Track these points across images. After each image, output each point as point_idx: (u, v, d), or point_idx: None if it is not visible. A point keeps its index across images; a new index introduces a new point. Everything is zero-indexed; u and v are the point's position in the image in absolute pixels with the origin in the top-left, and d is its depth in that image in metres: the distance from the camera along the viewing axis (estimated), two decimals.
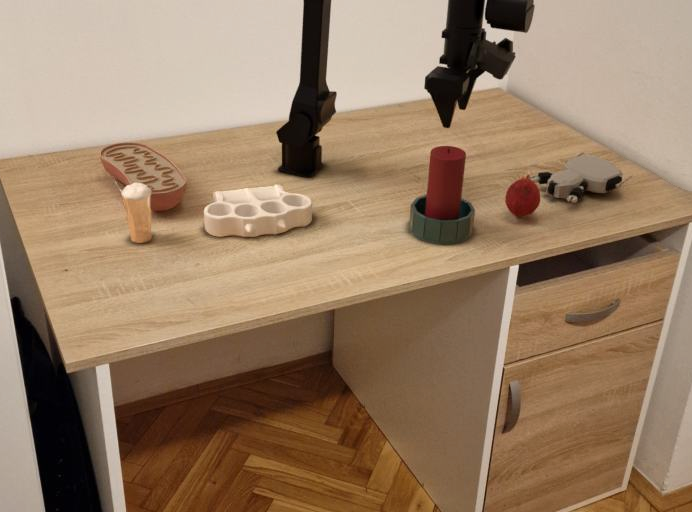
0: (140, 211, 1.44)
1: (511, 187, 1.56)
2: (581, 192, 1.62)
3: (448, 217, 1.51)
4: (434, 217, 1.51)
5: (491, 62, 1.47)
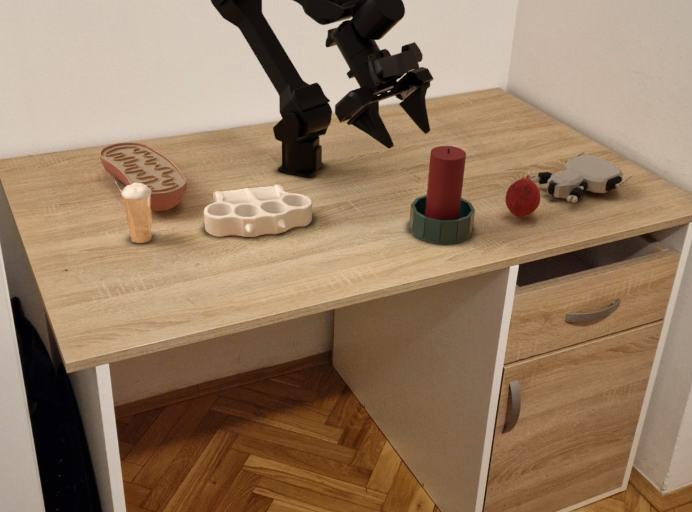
0: (140, 211, 1.44)
1: (511, 187, 1.56)
2: (581, 192, 1.62)
3: (448, 217, 1.51)
4: (434, 217, 1.51)
5: (387, 65, 1.46)
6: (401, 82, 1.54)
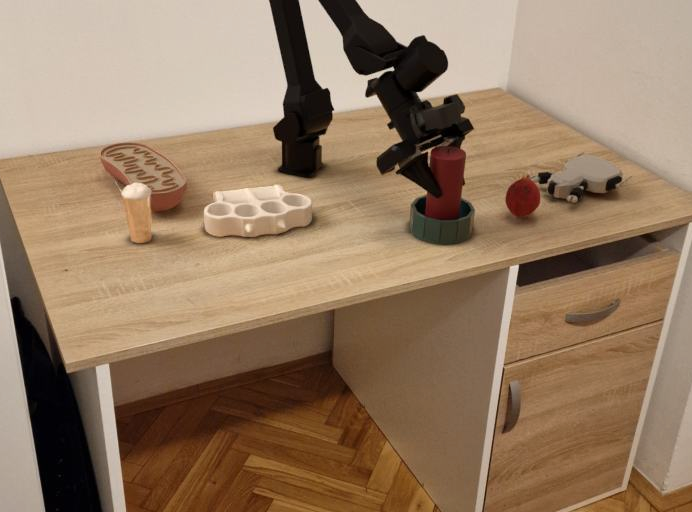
0: (140, 211, 1.44)
1: (511, 187, 1.56)
2: (581, 192, 1.62)
3: (448, 217, 1.51)
4: (434, 217, 1.51)
5: (430, 118, 1.44)
6: (442, 133, 1.52)
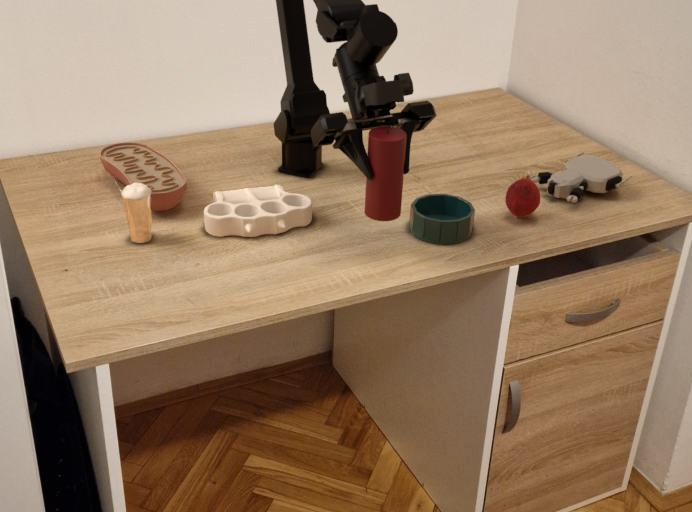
0: (140, 211, 1.44)
1: (511, 187, 1.56)
2: (581, 192, 1.62)
3: (381, 203, 1.41)
4: (369, 200, 1.42)
5: (367, 93, 1.35)
6: (399, 114, 1.42)
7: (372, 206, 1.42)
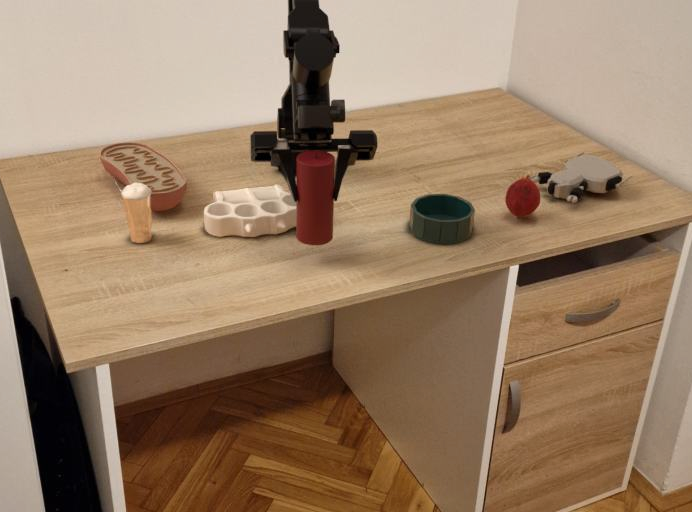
0: (140, 211, 1.44)
1: (511, 187, 1.56)
2: (581, 192, 1.62)
3: (306, 227, 1.40)
4: (297, 222, 1.41)
5: (298, 115, 1.35)
6: (342, 140, 1.40)
7: (298, 228, 1.41)
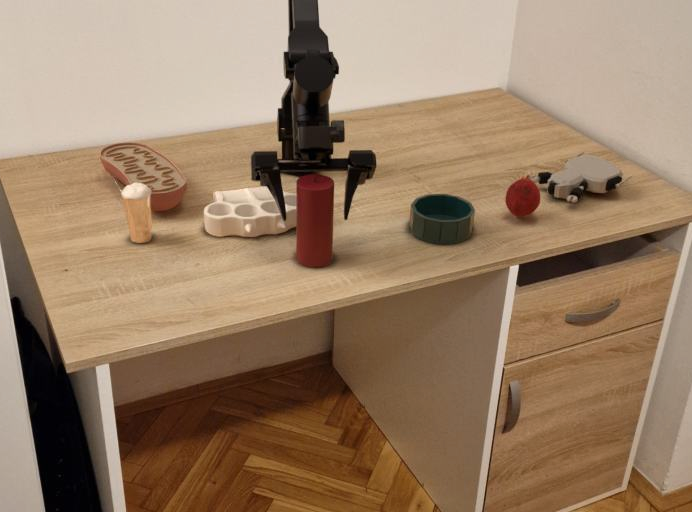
0: (140, 211, 1.44)
1: (511, 187, 1.56)
2: (581, 192, 1.62)
3: (305, 249, 1.42)
4: (297, 244, 1.43)
5: (298, 136, 1.36)
6: (341, 160, 1.42)
7: (298, 250, 1.43)
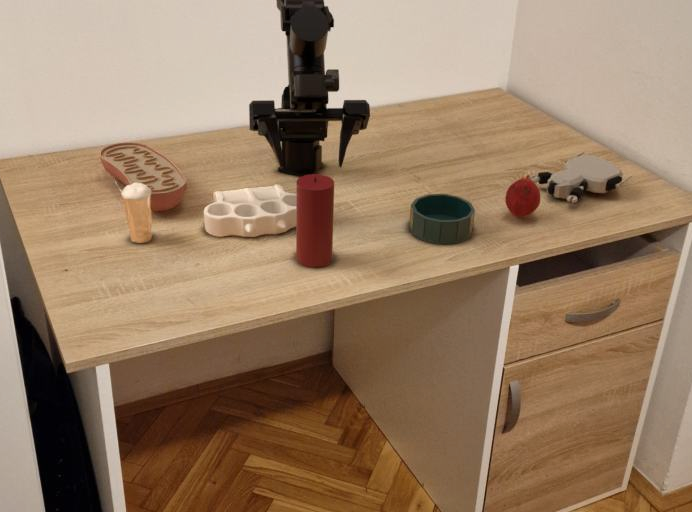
0: (140, 211, 1.44)
1: (511, 187, 1.56)
2: (581, 192, 1.62)
3: (305, 249, 1.42)
4: (297, 244, 1.43)
5: (294, 84, 1.42)
6: (336, 109, 1.47)
7: (298, 250, 1.43)
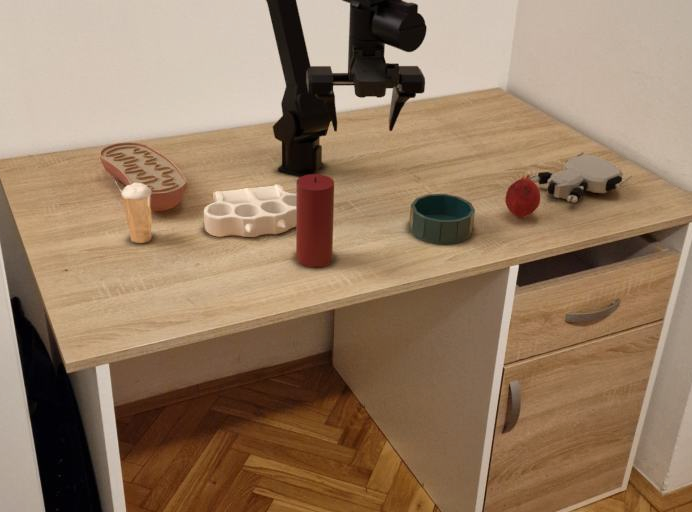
0: (140, 211, 1.44)
1: (511, 187, 1.56)
2: (581, 192, 1.62)
3: (305, 249, 1.42)
4: (297, 244, 1.43)
5: (354, 76, 1.44)
6: None
7: (298, 250, 1.43)
